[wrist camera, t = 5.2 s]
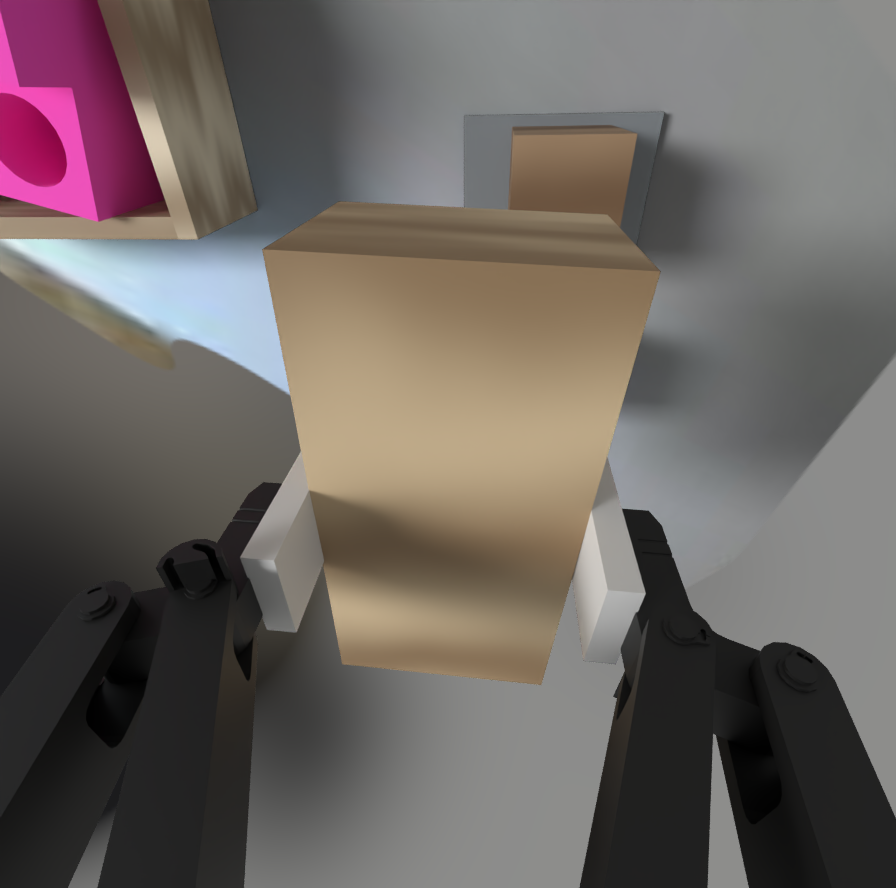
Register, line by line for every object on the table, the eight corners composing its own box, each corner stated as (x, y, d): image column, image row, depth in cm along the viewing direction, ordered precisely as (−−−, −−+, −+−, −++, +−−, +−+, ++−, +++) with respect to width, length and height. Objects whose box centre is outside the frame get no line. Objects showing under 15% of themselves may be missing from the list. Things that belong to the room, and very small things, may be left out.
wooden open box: (-196, -159, 21) (-449, -249, 15) (163, -188, 20) (27, -299, 14) (1, 210, 30) (-114, 238, 24) (257, 210, 29) (198, 239, 23)
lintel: (339, 201, 12) (262, 249, 8) (607, 214, 12) (660, 271, 8) (373, 554, 21) (342, 664, 17) (533, 569, 20) (541, 684, 16)
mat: (464, 115, 25) (464, 115, 24) (662, 111, 24) (664, 111, 24) (464, 383, 34) (463, 386, 34) (605, 387, 33) (606, 390, 33)
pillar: (512, 126, 24) (514, 135, 20) (611, 124, 24) (637, 133, 19) (506, 229, 27) (507, 259, 23) (594, 230, 27) (614, 260, 22)
